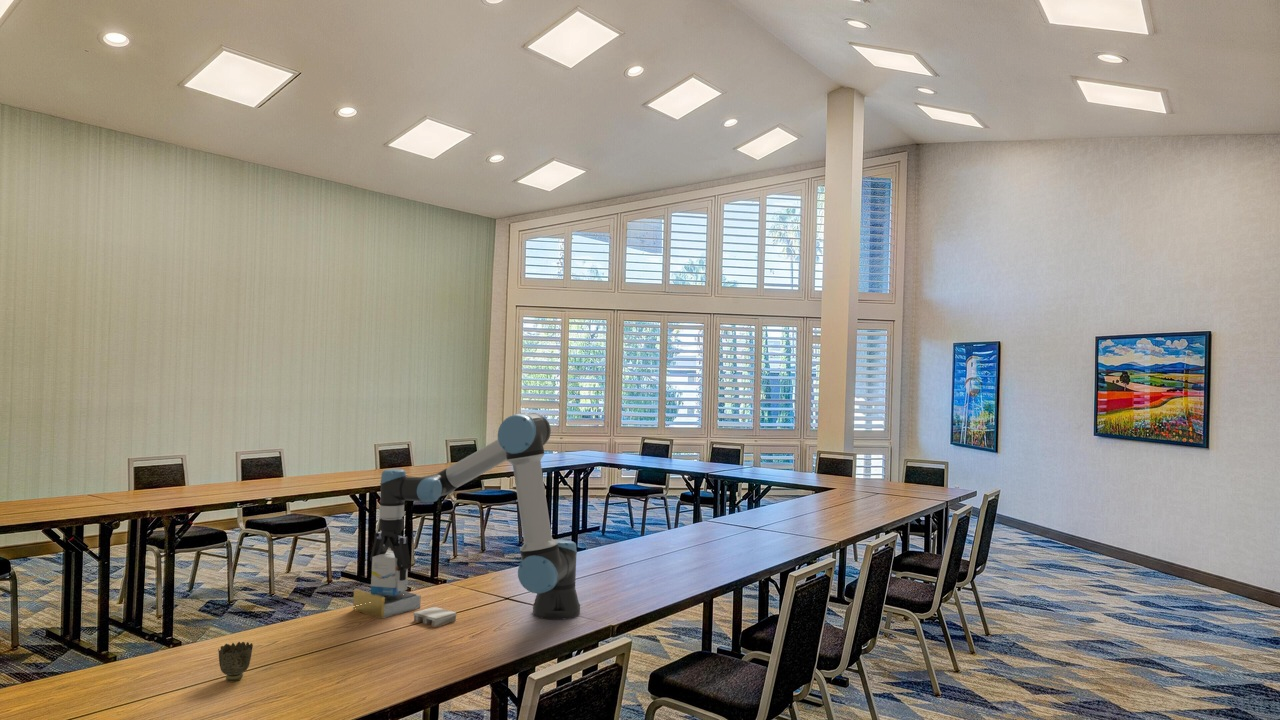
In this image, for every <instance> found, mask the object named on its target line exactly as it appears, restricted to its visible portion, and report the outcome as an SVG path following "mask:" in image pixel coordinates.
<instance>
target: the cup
mask: <svg viewBox="0 0 1280 720" xmlns="http://www.w3.org/2000/svg"><path fill="white" fill-rule="evenodd" d="M253 647H254V645H253V642H251V643H249V641H248V642H246V643H245V641H242V642H240V641H238V642H237V643H236V644H235V643H234V642H232V643H231V644H228V643H225V644H224V645H221V646H220V648H218V649H217V651H218V659H219V669H220V671H221V673H223V674H224V675H225V679H226V681H227V682H230V681H234V682H239V681H241V679H243V676H244V672H246V671H247V669H248V668H249V666H250V664H251V659H252V653H253Z"/></svg>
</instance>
